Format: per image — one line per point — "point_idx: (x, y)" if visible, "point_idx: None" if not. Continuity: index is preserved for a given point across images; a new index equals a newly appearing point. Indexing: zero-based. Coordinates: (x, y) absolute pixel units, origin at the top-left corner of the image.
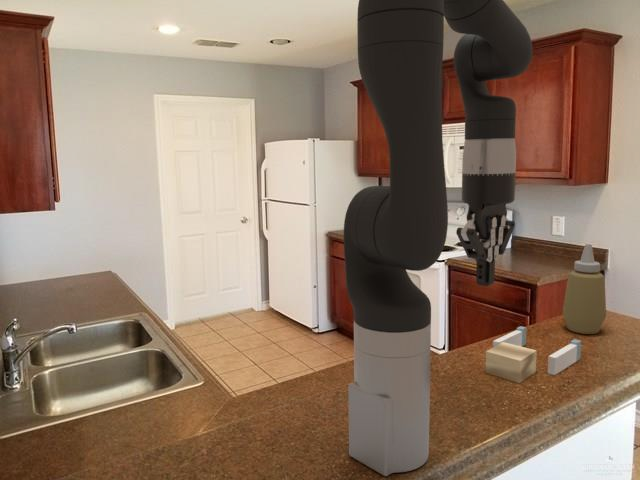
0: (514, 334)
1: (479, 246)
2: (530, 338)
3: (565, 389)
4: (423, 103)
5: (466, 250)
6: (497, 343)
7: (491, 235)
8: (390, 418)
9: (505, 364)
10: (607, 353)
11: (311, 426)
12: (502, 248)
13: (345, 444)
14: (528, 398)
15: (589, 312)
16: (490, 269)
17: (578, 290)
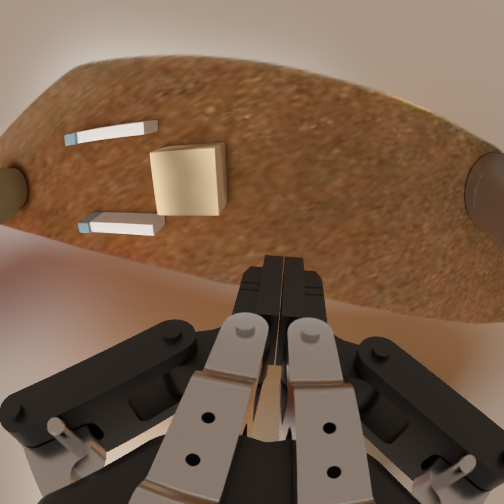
0: (107, 224)
1: (435, 399)
2: (74, 218)
3: (194, 82)
4: None
5: (400, 414)
6: (154, 226)
7: (355, 456)
8: None
9: (219, 173)
10: (48, 120)
11: (481, 279)
12: (166, 346)
13: None
14: (268, 106)
15: (1, 181)
16: (296, 294)
17: None
